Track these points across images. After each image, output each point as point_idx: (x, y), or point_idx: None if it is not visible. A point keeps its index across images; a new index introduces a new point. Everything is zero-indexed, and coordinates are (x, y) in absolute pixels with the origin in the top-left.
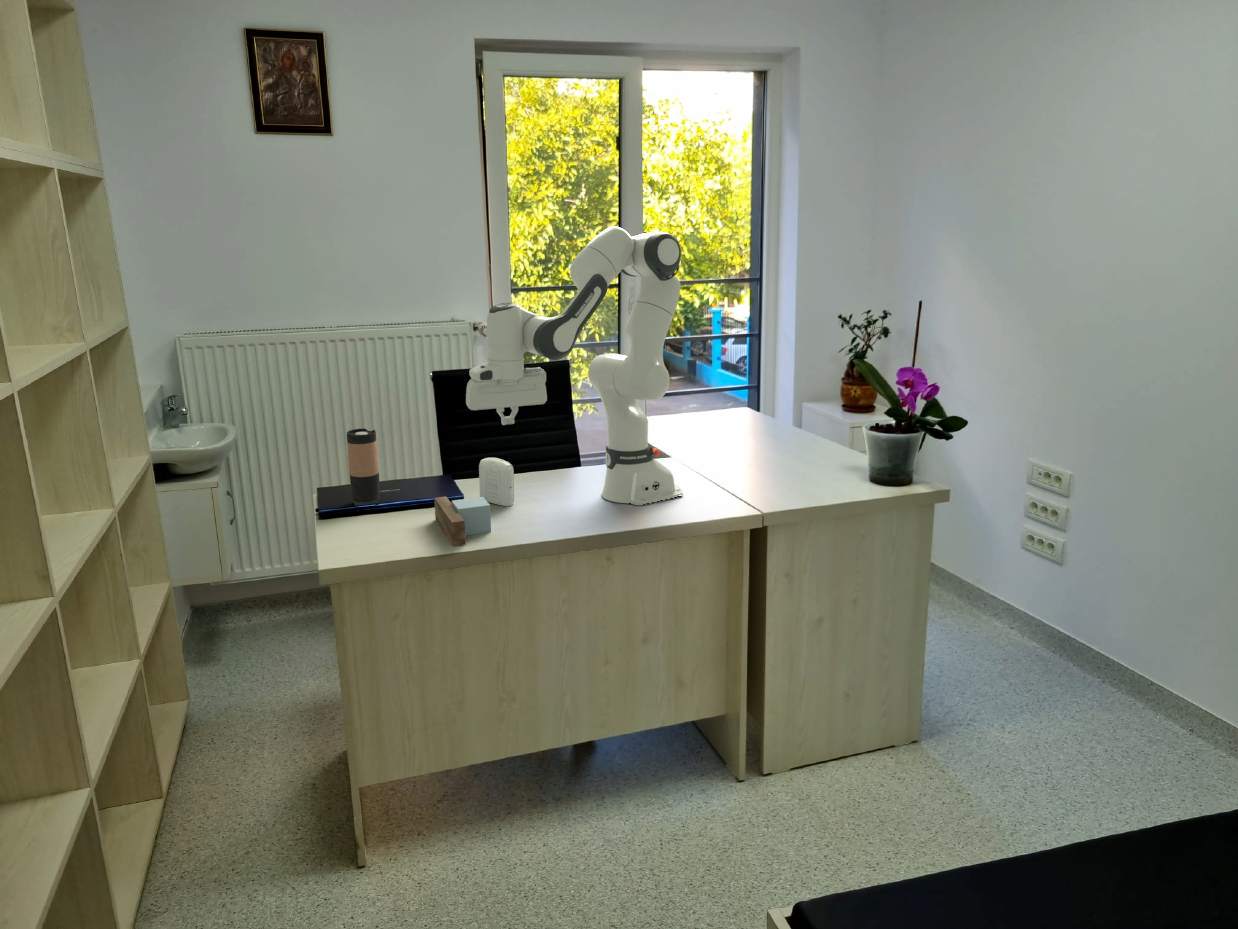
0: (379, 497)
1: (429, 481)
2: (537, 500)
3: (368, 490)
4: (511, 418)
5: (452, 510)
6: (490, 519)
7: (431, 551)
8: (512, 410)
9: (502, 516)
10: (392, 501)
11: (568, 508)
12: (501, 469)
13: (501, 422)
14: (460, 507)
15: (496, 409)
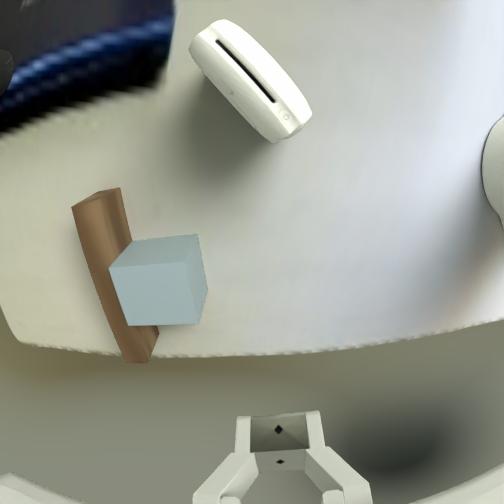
0: (4, 74)
1: None
2: (357, 111)
3: None
4: (301, 465)
5: (117, 307)
6: (203, 303)
7: (110, 340)
8: (333, 482)
9: (246, 204)
10: (31, 59)
11: (405, 196)
12: (261, 133)
13: (236, 421)
14: (132, 318)
15: (192, 501)
